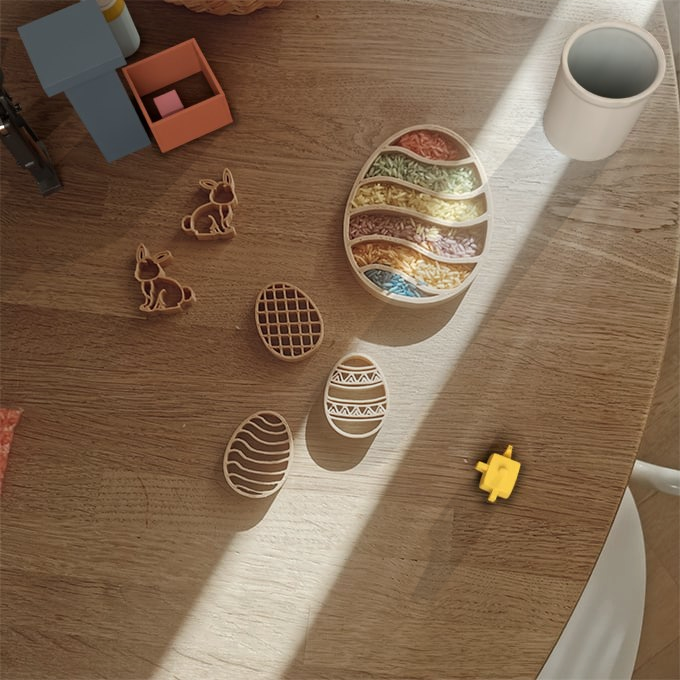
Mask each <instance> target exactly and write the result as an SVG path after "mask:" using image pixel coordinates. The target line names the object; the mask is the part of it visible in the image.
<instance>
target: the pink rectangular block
mask: <svg viewBox="0 0 680 680" xmlns="http://www.w3.org/2000/svg"><path fill="white" fill-rule="evenodd" d="M153 102H154V104H155V106H156V109H157V110H158V112H159V114H160V117H161V119H164V118H166V117H168V116H170V115H173V114H175V113H177V112H180V111H182V110H184V109H185V107H184V105H183V103H182V101H181V99H180V97H179V94H178V93H177V90H176V89H172V90H170V91H168V92H166V93H164V94H163V93H162V94H161V95H159V96H156V97H154V98H153Z"/></svg>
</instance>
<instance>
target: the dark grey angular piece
mask: <svg viewBox="0 0 680 680" xmlns="http://www.w3.org/2000/svg"><path fill="white" fill-rule="evenodd" d="M19 129H20V130H21V132H22V133H23V135H24V136H25V138H26V140H27V141H28V143H29V144H30V146H31V147H32V149H33V150H36V151H37V153H38V154H39V155H40V156H41V158H42V159H43V160H44V162H45V163H46V164H47V166H48V167H49V168H50V169H51V171H52V172H53V174H54V176H53V177H51V178H48V179H46V180H44V181H42V182H38V181H37V180H36V179H35V177H34V176H33V178H34V180H35V183H36V185H37V188H38V191H39V193H40V194H41V195H42V197H43V198H46V197H48V196H51V195H53V194H55V193H57V192H60V191H62V190H64V186H63V184H62V182H61V180H60V177H59V175H58V172H57V170H56V167H55V165H54V163H53V160H52V158H51V155H50V153H49V150H48V148H47V146H46V144H45V142H44V141H43V140H42V139H39V141H37V142H35V141H34V140H33V139H32V137H31V136H30V135H29V133H28V132H27V131H26V129H25V128H24V127H20V128H19Z"/></svg>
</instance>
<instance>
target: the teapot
mask: <svg viewBox="0 0 680 680" xmlns="http://www.w3.org/2000/svg"><path fill="white" fill-rule="evenodd" d="M513 447H514V446H512V445H510V444H509V445H508V446H507V448H506V449H505V451H504V452H503V454H502V455H501V454H498V453H495V452H494V453H492V454H491V455H490V456H489V458H488V460H487V461H486V463H485V462H482V461H478V462H477V463H476V464H475V467H474V469H475V470H477V471H478V472H480V473H482V474H481V478H480V480H479V485H478V487H479V489H481V490H483V491H486V492H488V493H489V495H488V497H487V501H489V502H491V503H495V501H496V500H497V497H500V498H502V499H508V498H509V497H510V495H511V493H512V491H513V489H514V487H515V485H516V482H517V478H518V475H519V471H520V468H521V462H519V461H517V460H513V459H512V453H513Z"/></svg>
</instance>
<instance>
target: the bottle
mask: <svg viewBox="0 0 680 680" xmlns="http://www.w3.org/2000/svg"><path fill="white" fill-rule="evenodd" d="M81 1H84V0H79V2H81ZM96 1H97V3H98V5H99V8H100V10H101V12H102V14H103V16H104V18H105V20H106V22H107V24H108V26H109V28H110V30H111V32H112V34H113V36H114V38H115V40H116V42H117V44H118V46H119V48H120V50H121V52H122V54H123V56H124V59H126V58H128V57H131V56H132V55H133V54H134V53H136V52H137V50H138V49H139V47H140V43H141V38H140V35H139V32H138V30H137V28H136V26H135V23H134V21H133V19H132V16H131V14H130V12H129V10H128V7H127V5H126V2H125V0H96Z"/></svg>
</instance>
